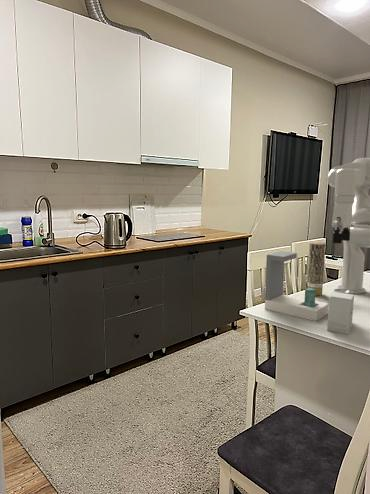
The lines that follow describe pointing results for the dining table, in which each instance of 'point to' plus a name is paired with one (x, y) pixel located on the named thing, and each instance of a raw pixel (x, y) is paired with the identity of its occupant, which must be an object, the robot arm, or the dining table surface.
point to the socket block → (285, 302)
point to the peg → (310, 297)
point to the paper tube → (316, 266)
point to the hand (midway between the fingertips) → (341, 241)
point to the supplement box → (340, 312)
